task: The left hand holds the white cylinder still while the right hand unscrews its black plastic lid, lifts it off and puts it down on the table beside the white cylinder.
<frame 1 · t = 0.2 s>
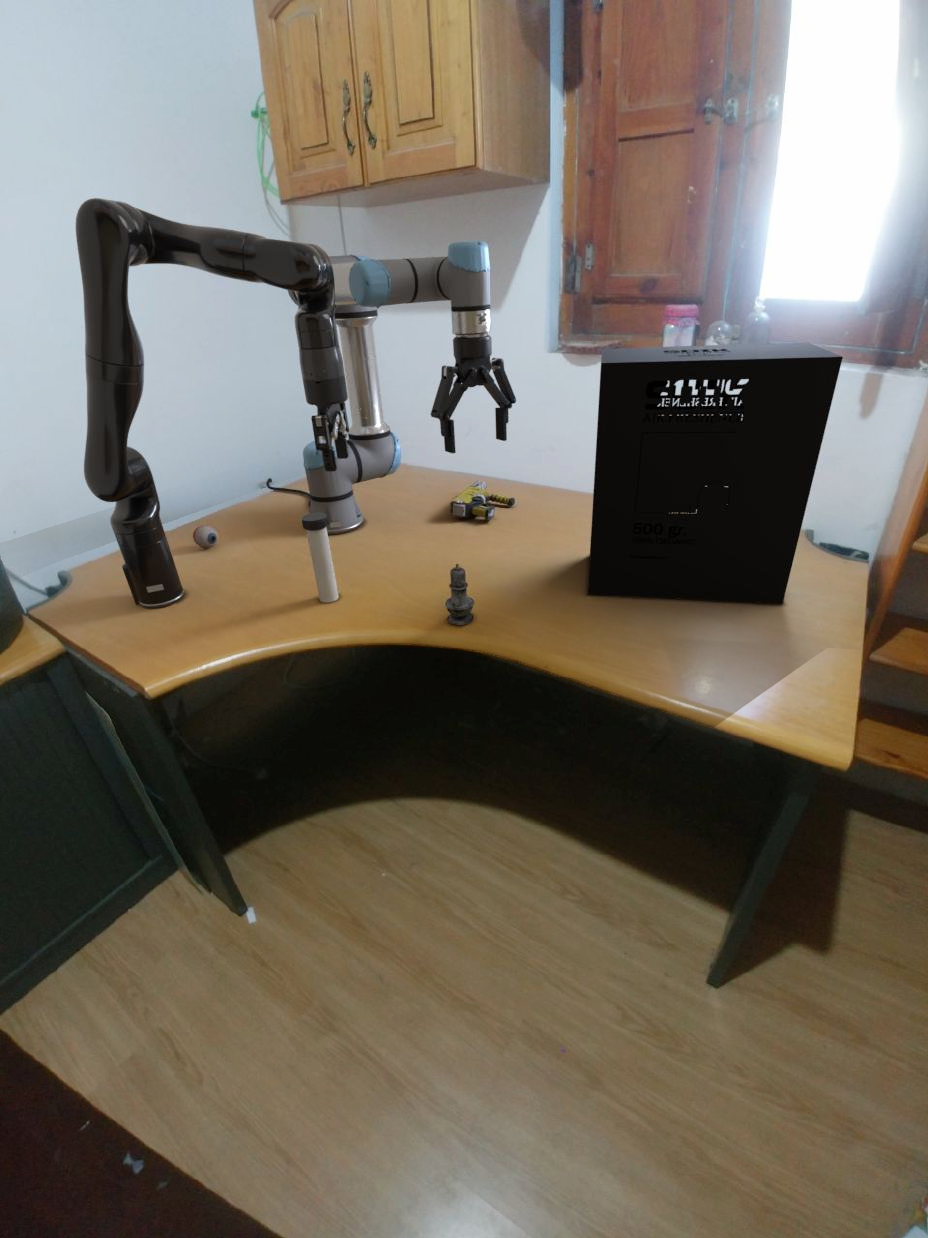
left hand: (337, 464, 116), 29 cm above the table, tool pointing down, fingers open, 8 cm apart
right hand: (476, 445, 127), 28 cm above the table, tool pointing down, fingers open, 13 cm apart
cardboard box: (677, 578, 131), on the table
eyeball: (209, 547, 160), on the table
dark grey chess piece: (460, 619, 120), on the table
lid: (314, 518, 122), point 18 cm above the table, screwed on, not yet turned
white cylinder: (329, 598, 131), on the table
toy gun: (487, 508, 175), on the table
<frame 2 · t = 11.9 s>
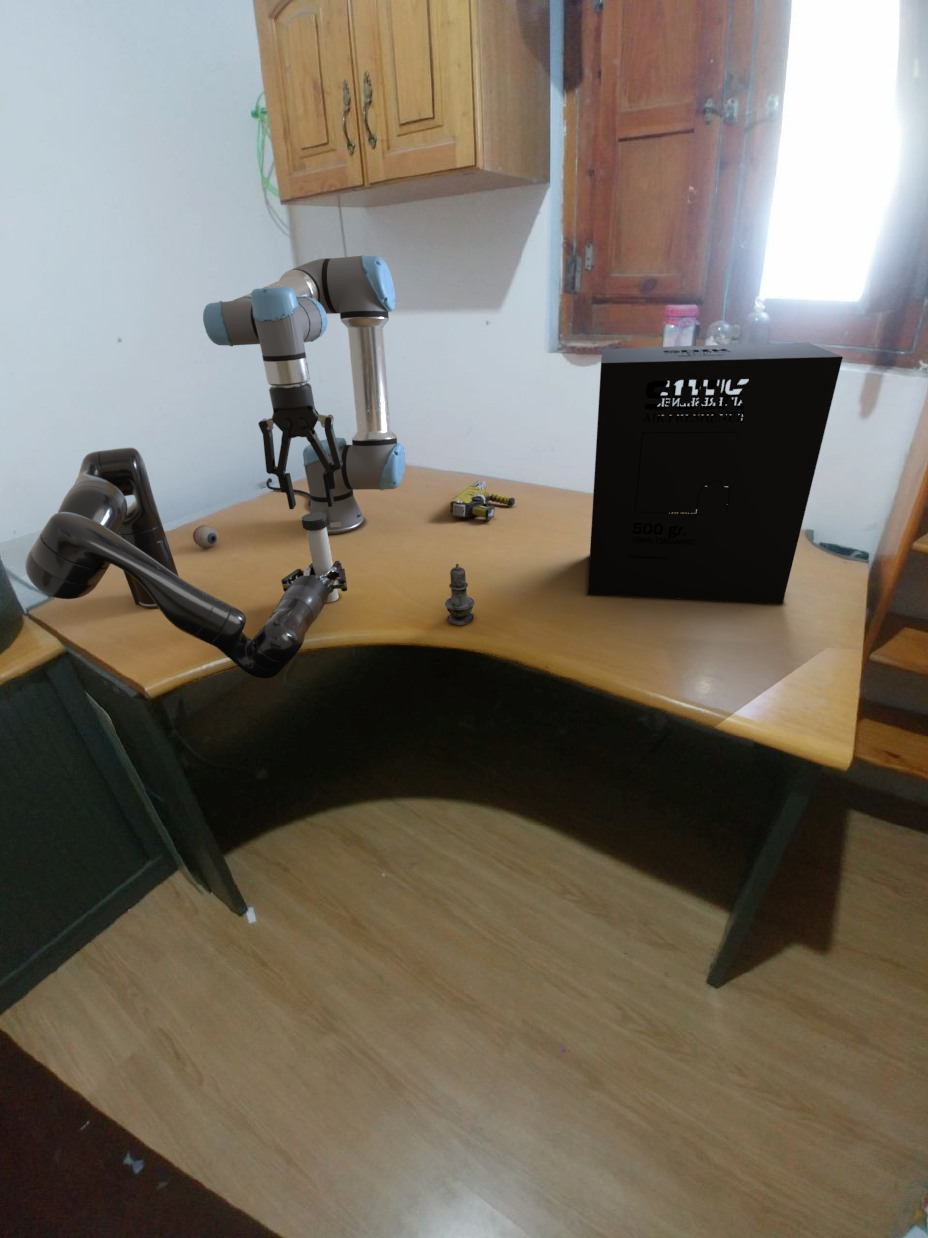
left hand: (327, 564, 130), 7 cm above the table, tool horizontal, fingers closed on white cylinder, 4 cm apart
right hand: (312, 505, 121), 21 cm above the table, tool pointing down, fingers open, 7 cm apart
white cylinder: (329, 598, 131), on the table, touching left hand
everything else where it was.
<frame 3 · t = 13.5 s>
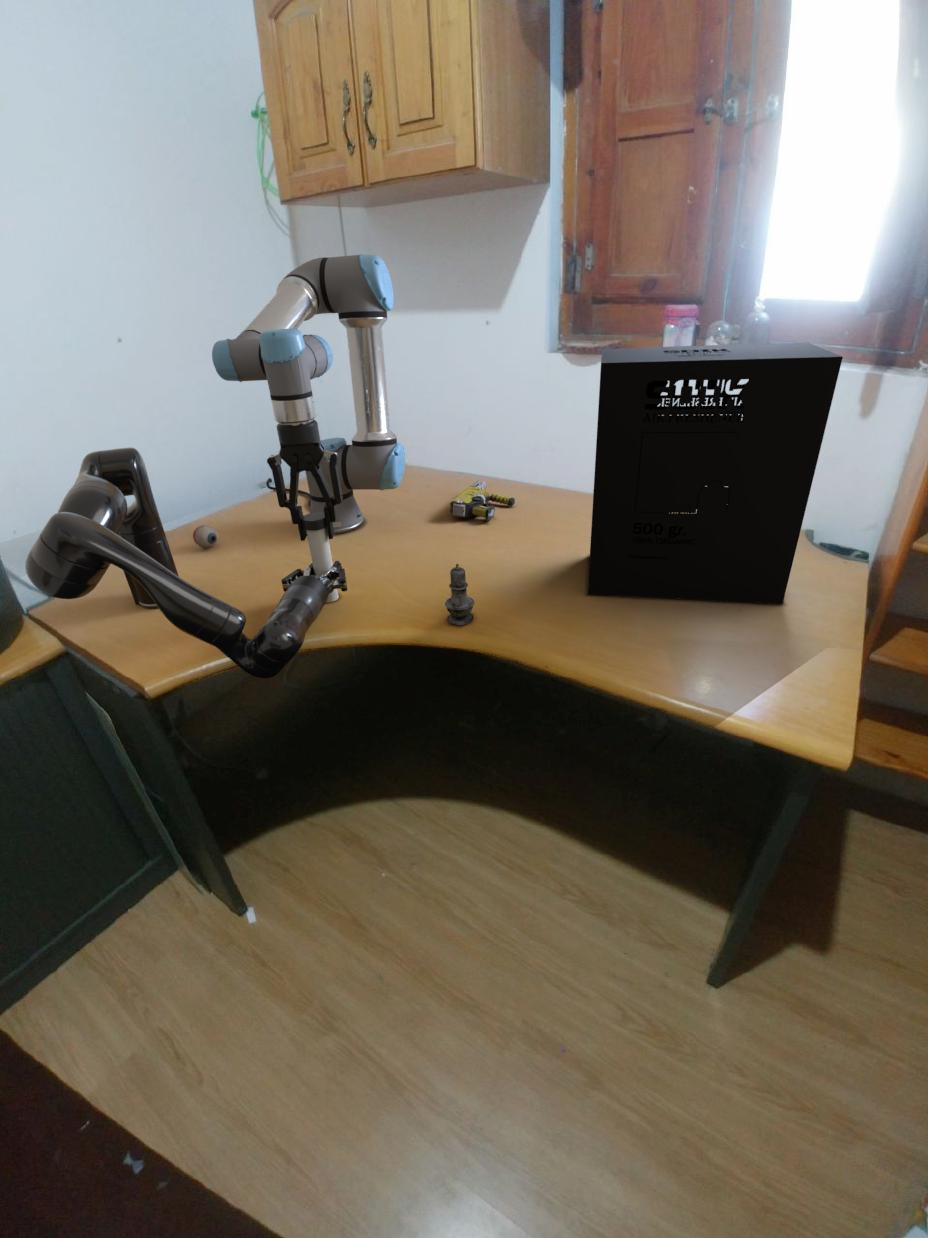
left hand: (327, 564, 130), 7 cm above the table, tool horizontal, fingers closed on white cylinder, 4 cm apart
right hand: (317, 537, 124), 14 cm above the table, tool pointing down, fingers closed on lid, 5 cm apart
lid: (314, 518, 122), point 18 cm above the table, screwed on, not yet turned, touching right hand
white cylinder: (329, 598, 131), on the table, touching left hand
everything else where it was.
when the right hand's fingers open (15 cm above the table, at t = 15.0 s): lid stays where it is, point 19 cm above the table.
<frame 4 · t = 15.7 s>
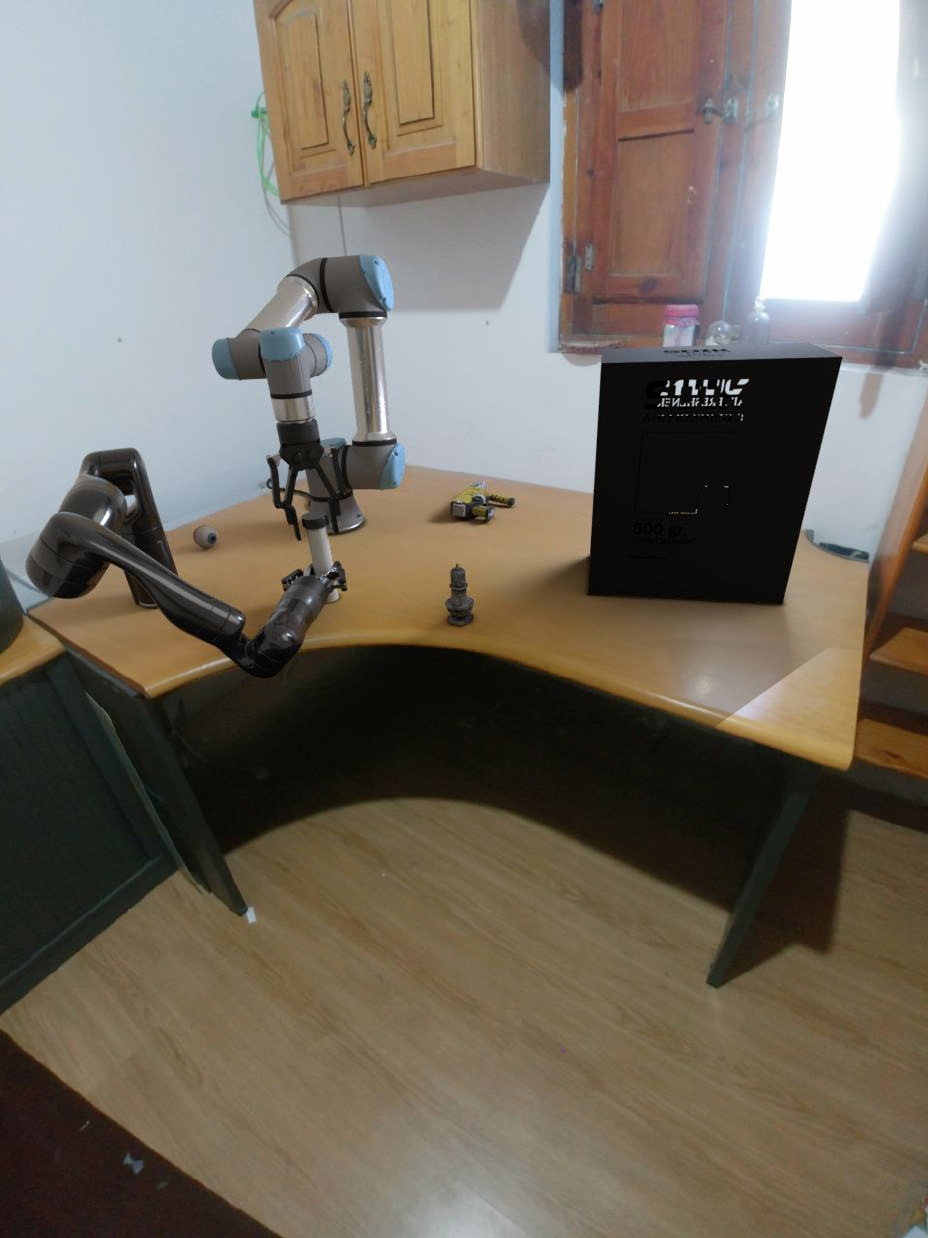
left hand: (327, 564, 130), 7 cm above the table, tool horizontal, fingers closed on white cylinder, 4 cm apart
right hand: (317, 534, 124), 15 cm above the table, tool pointing down, fingers open, 7 cm apart
lid: (314, 516, 122), point 19 cm above the table, turned 103° so far, risen 0.3 cm, still on its thread
white cylinder: (329, 598, 131), on the table, touching left hand
everything else where it was.
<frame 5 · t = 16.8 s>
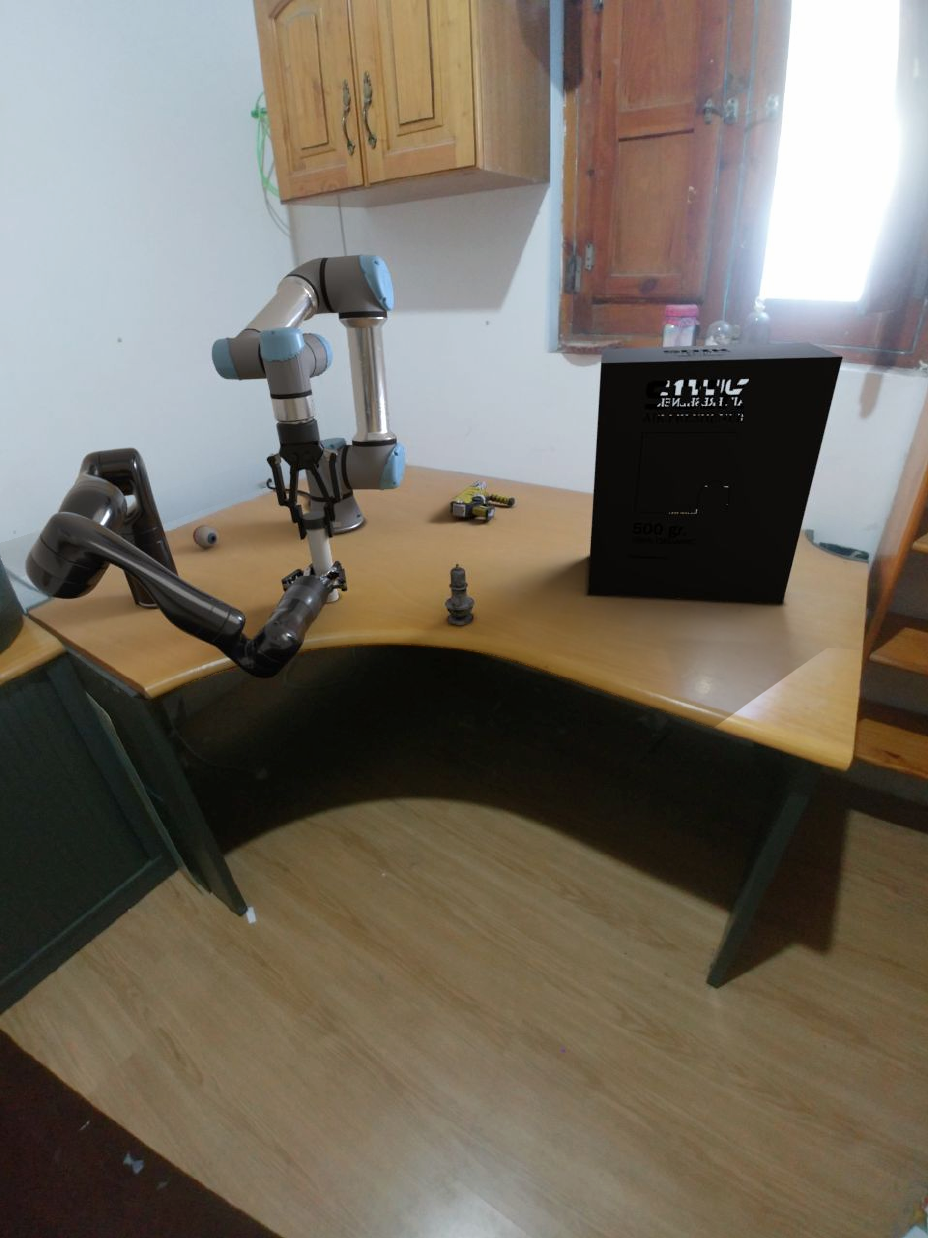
left hand: (327, 565, 130), 7 cm above the table, tool horizontal, fingers closed on white cylinder, 4 cm apart
right hand: (317, 536, 124), 15 cm above the table, tool pointing down, fingers closed on lid, 5 cm apart
lid: (314, 516, 122), point 19 cm above the table, turned 103° so far, risen 0.3 cm, still on its thread, touching right hand
white cylinder: (329, 598, 131), on the table, touching left hand
everything else where it was.
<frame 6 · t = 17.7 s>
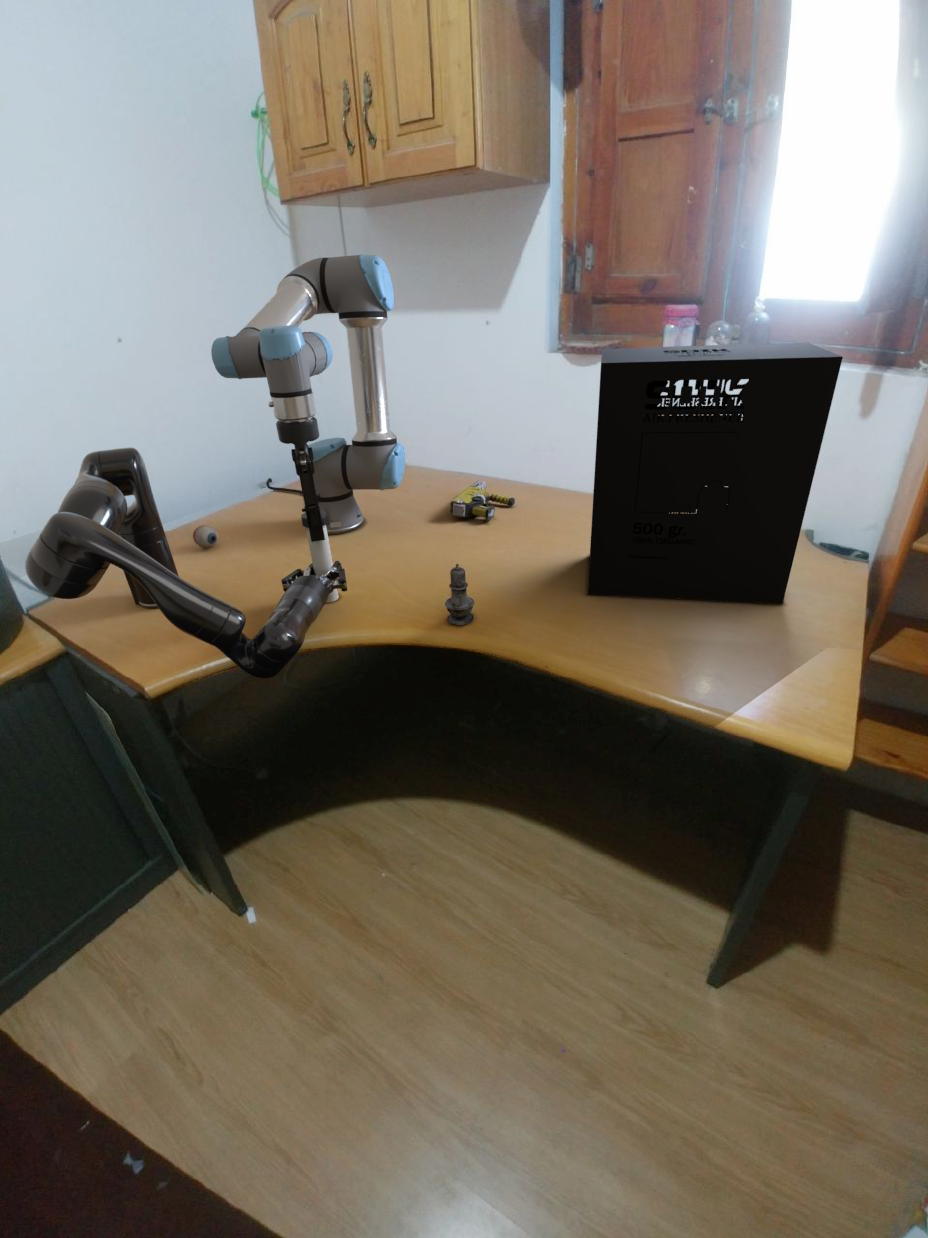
left hand: (327, 565, 130), 7 cm above the table, tool horizontal, fingers closed on white cylinder, 4 cm apart
right hand: (317, 534, 124), 15 cm above the table, tool pointing down, fingers closed on lid, 5 cm apart
lid: (314, 515, 122), point 19 cm above the table, off its thread, touching right hand
white cylinder: (329, 598, 131), on the table, touching left hand
everything else where it was.
when the right hand's fingers open (0 cm above the table, at t = 23.7 s): lid drops 1 cm, point 2 cm above the table.
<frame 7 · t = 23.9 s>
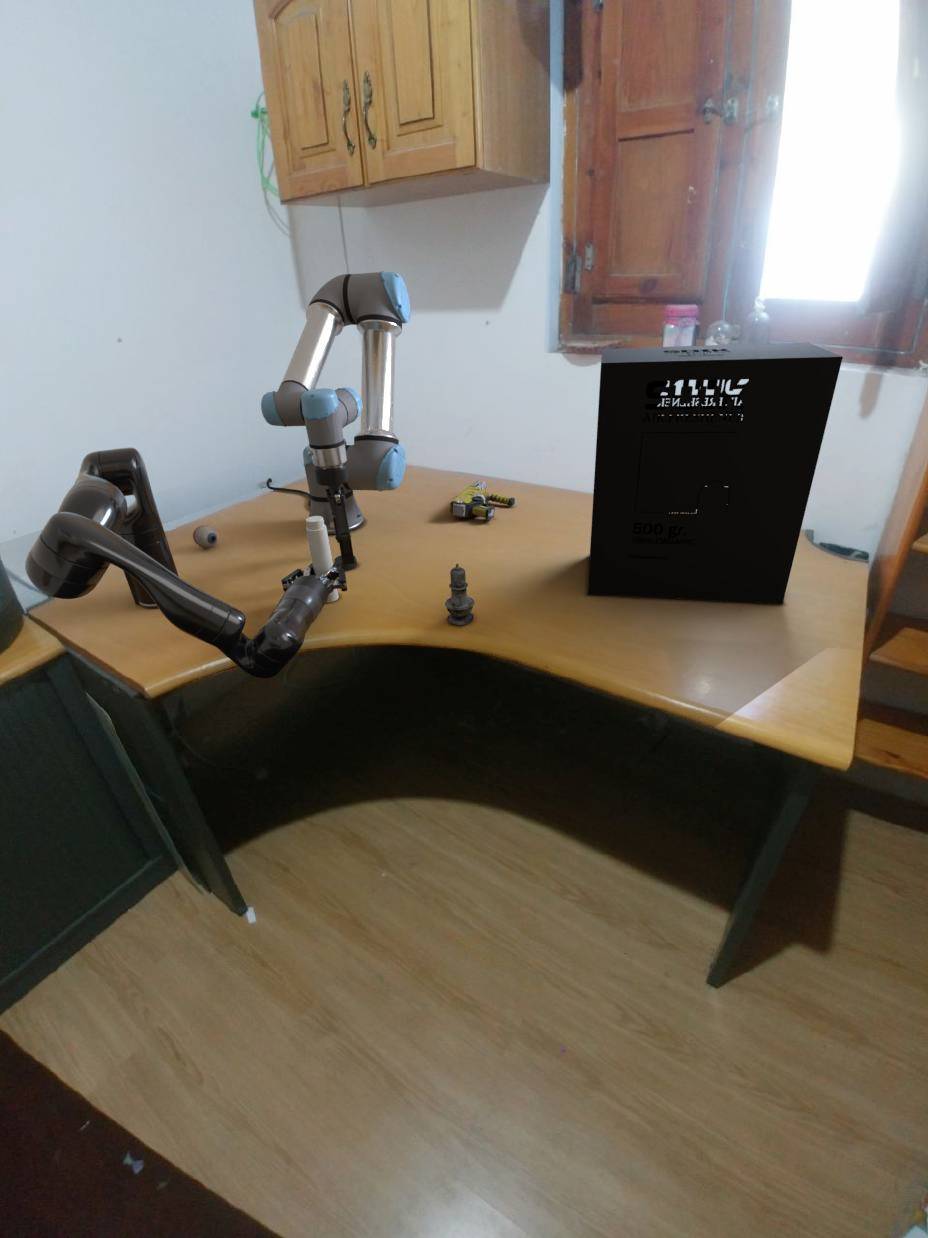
left hand: (327, 565, 130), 7 cm above the table, tool horizontal, fingers closed on white cylinder, 4 cm apart
right hand: (345, 552, 144), 3 cm above the table, tool pointing down, fingers open, 13 cm apart
lid: (345, 559, 144), point 2 cm above the table, off its thread
white cylinder: (329, 598, 131), on the table, touching left hand
everything else where it was.
when the left hand's fingers open (7 cm above the table, at t = 24.2 s): white cylinder stays where it is, on the table.
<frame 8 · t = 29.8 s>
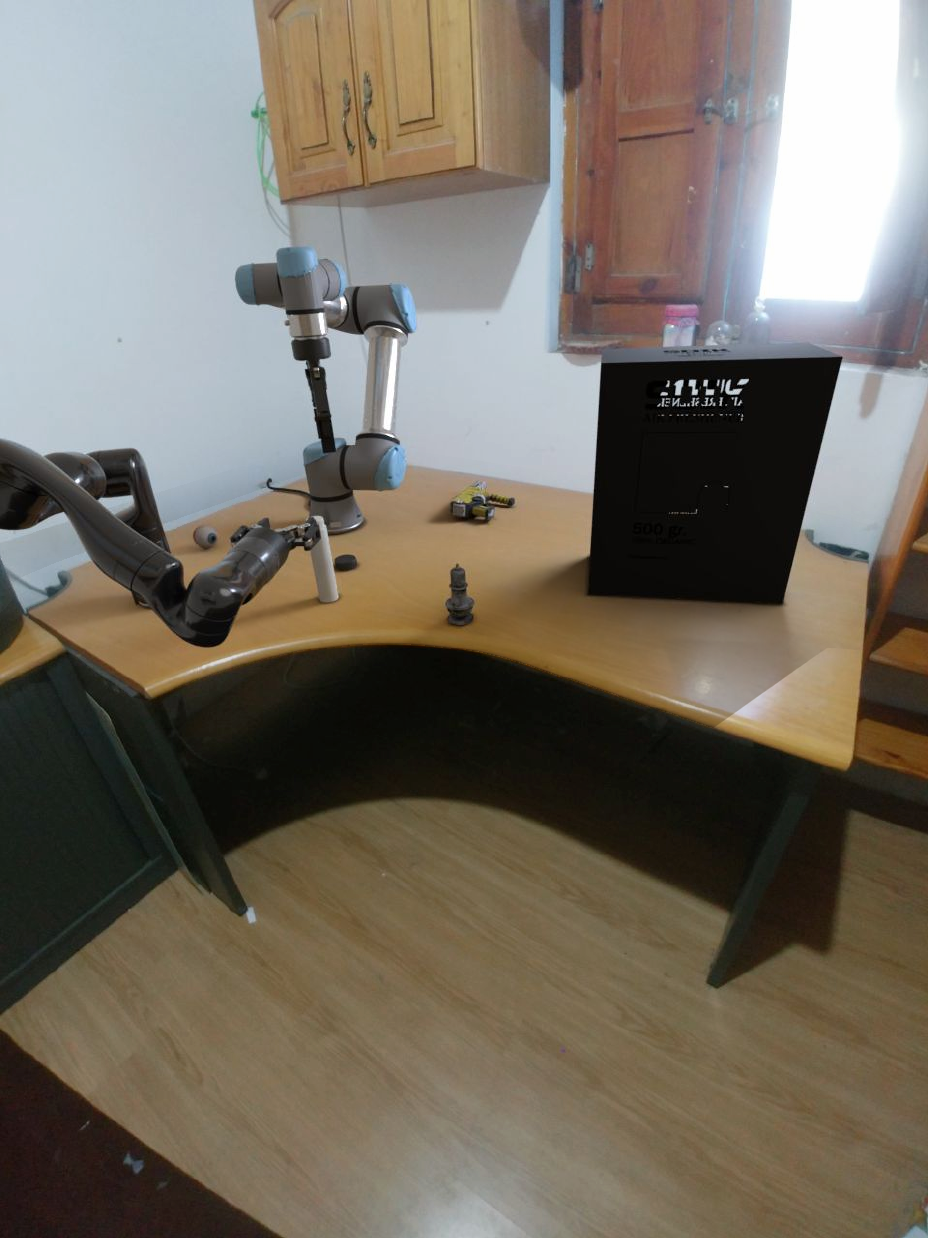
left hand: (290, 522, 110), 22 cm above the table, tool horizontal, fingers open, 8 cm apart
right hand: (327, 444, 131), 29 cm above the table, tool pointing down, fingers open, 13 cm apart
white cylinder: (329, 598, 131), on the table
everything else where it was.
at the end: lid came off its thread; lid point 1.7 cm above the table; the left hand is holding nothing; the right hand is holding nothing; white cylinder tilted 0°; white cylinder moved 0.0 cm from its start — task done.
